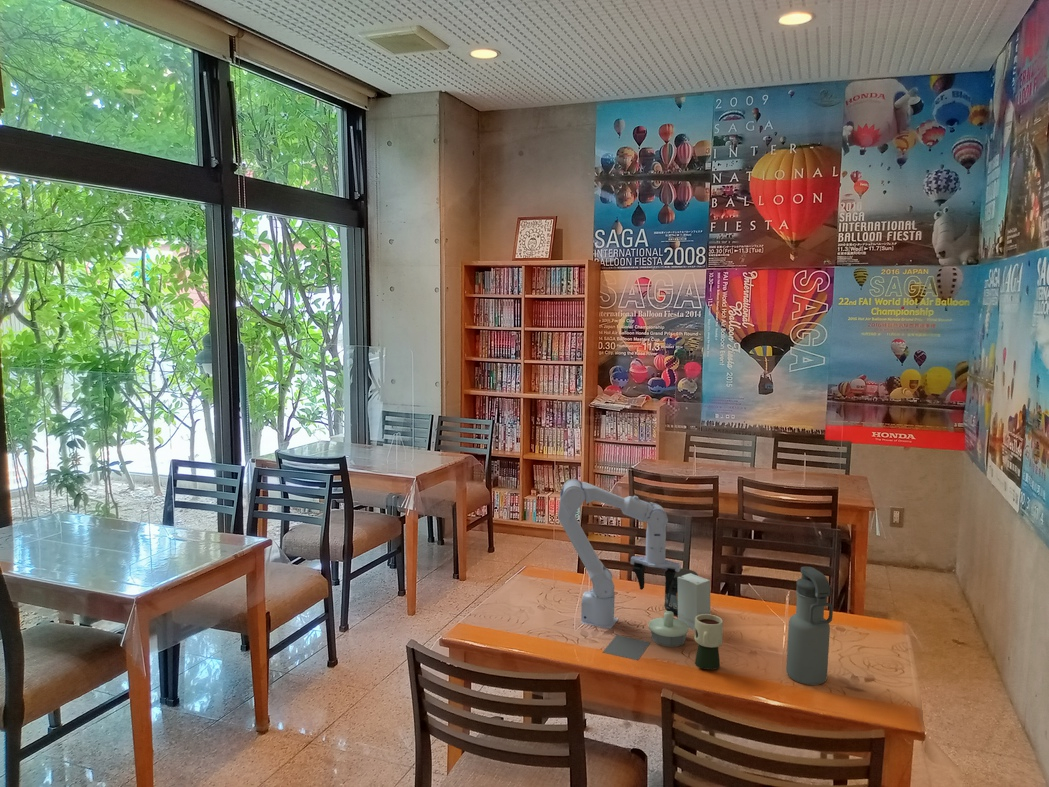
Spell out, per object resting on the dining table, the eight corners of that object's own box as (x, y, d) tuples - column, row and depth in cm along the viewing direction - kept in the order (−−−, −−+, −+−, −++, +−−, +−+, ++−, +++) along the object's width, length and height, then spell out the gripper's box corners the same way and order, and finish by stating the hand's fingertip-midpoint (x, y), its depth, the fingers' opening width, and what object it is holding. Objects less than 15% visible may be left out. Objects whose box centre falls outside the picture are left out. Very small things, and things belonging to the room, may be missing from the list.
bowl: (648, 644, 204) (648, 630, 203) (657, 631, 212) (657, 618, 211) (680, 651, 200) (680, 637, 199) (687, 638, 208) (688, 624, 207)
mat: (602, 654, 197) (602, 652, 197) (616, 636, 208) (616, 634, 208) (637, 662, 193) (637, 660, 193) (650, 643, 204) (650, 641, 204)
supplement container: (675, 601, 234) (677, 565, 233) (704, 610, 227) (706, 573, 226) (657, 610, 227) (658, 573, 226) (686, 620, 220) (688, 582, 218)
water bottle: (836, 685, 182) (842, 577, 179) (801, 689, 180) (807, 580, 177) (811, 665, 192) (817, 563, 189) (778, 669, 190) (783, 565, 187)
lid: (642, 631, 203) (643, 615, 202) (656, 617, 212) (656, 602, 212) (681, 640, 197) (681, 624, 197) (693, 625, 207) (693, 610, 206)
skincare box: (710, 629, 214) (712, 580, 212) (696, 634, 210) (698, 584, 209) (689, 619, 221) (691, 571, 219) (675, 623, 217) (677, 575, 216)
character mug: (697, 655, 197) (699, 609, 196) (724, 660, 195) (726, 613, 193) (689, 673, 188) (691, 624, 186) (717, 679, 185) (719, 630, 183)
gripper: (627, 546, 214) (626, 591, 215) (676, 553, 207) (675, 599, 209) (634, 539, 220) (634, 583, 221) (682, 546, 214) (681, 591, 215)
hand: (654, 590), depth 216 cm, fingers open, 7 cm apart
